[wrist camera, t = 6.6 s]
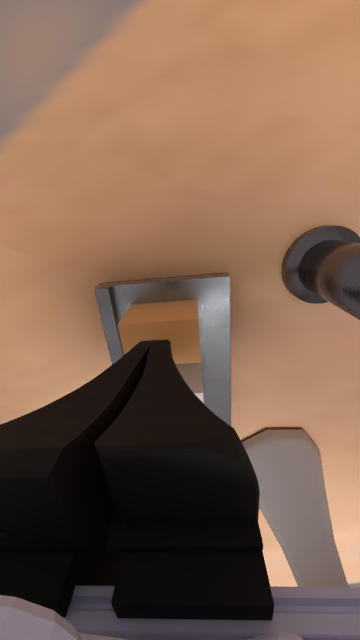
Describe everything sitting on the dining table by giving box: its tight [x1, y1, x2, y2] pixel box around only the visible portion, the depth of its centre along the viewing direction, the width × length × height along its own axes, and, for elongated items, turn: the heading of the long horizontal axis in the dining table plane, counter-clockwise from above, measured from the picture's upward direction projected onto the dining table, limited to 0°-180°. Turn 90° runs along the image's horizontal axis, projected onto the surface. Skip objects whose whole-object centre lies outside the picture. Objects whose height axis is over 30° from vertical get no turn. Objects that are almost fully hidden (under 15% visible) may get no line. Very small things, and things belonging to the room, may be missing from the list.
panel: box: [95, 273, 231, 426], centre depth 17 cm, size 8×14×2 cm, turn 5°
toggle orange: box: [118, 300, 201, 364], centre depth 13 cm, size 4×2×3 cm, turn 95°
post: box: [282, 226, 360, 320], centre depth 11 cm, size 4×4×6 cm
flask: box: [242, 429, 349, 587], centre depth 16 cm, size 7×7×10 cm
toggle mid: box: [176, 363, 204, 403], centre depth 15 cm, size 4×2×3 cm, turn 95°
